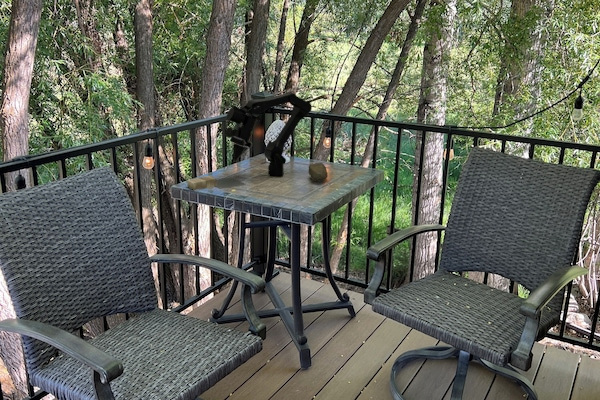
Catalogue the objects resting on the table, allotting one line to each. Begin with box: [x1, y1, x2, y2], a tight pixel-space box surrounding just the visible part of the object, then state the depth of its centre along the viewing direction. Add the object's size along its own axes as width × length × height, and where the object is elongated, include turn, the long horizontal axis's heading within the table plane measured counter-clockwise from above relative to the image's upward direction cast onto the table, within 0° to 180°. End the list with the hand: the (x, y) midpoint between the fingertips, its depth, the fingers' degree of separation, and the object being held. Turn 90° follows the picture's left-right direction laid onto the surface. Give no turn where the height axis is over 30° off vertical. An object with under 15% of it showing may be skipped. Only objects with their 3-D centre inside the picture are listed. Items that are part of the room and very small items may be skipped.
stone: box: [308, 162, 328, 182], centre depth 266 cm, size 17×9×8 cm, turn 6°
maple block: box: [186, 175, 217, 191], centre depth 253 cm, size 4×6×11 cm
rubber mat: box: [215, 176, 246, 190], centre depth 260 cm, size 13×14×1 cm
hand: (235, 160), depth 261 cm, fingers closed
